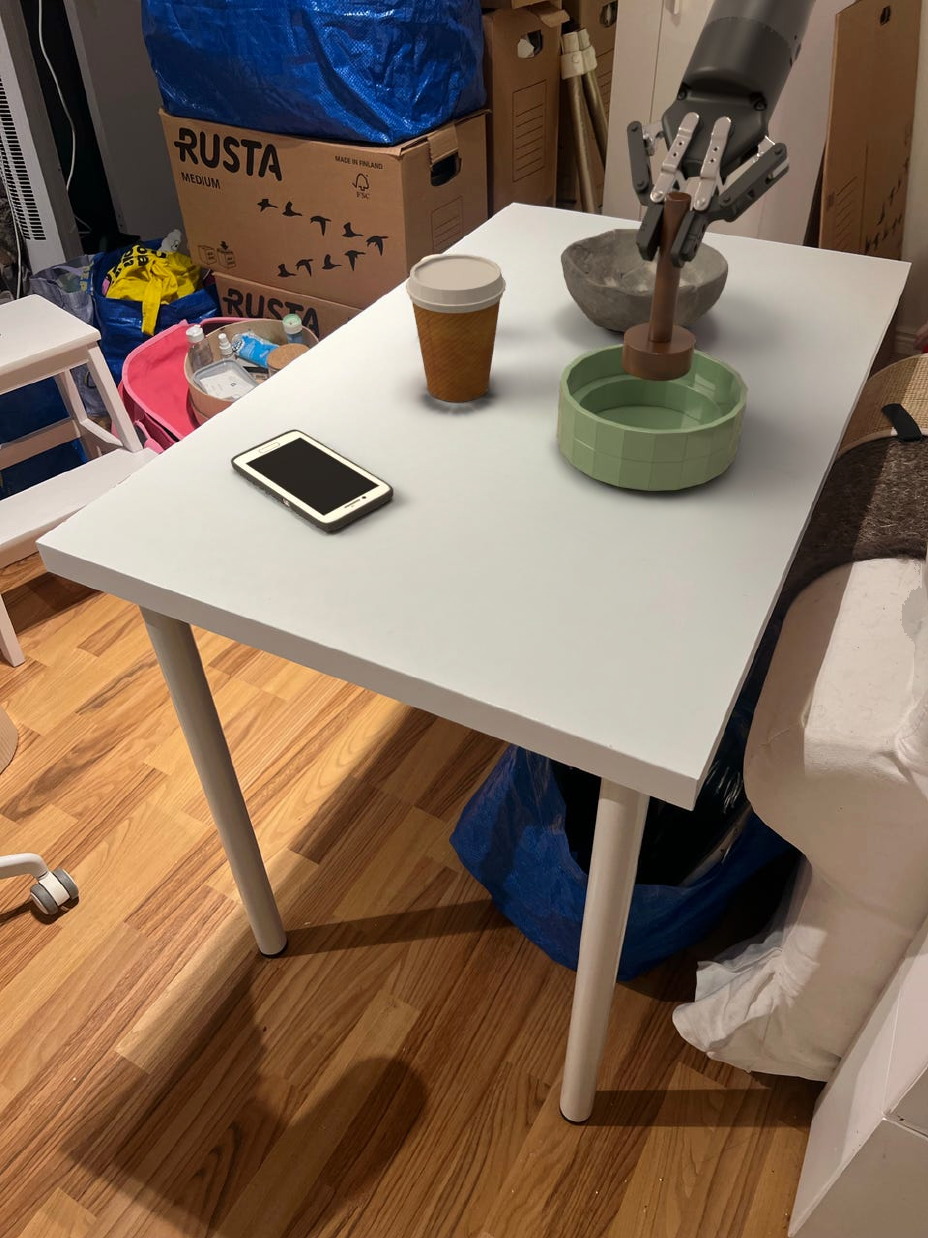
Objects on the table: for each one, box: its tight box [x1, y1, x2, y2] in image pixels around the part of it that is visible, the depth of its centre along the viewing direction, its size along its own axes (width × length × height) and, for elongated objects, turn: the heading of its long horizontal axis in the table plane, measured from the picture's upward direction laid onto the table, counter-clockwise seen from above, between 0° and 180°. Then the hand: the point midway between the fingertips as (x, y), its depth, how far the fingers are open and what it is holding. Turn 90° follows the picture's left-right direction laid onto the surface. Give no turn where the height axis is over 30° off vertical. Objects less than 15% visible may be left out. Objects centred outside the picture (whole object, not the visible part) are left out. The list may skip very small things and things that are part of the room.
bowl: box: [560, 228, 729, 333], centre depth 101 cm, size 18×18×8 cm
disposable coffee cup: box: [405, 253, 507, 403], centre depth 90 cm, size 10×10×12 cm
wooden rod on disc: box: [621, 192, 696, 381], centre depth 75 cm, size 6×6×14 cm
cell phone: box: [230, 428, 394, 532], centre depth 81 cm, size 8×15×1 cm, turn 44°
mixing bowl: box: [556, 343, 749, 492], centre depth 83 cm, size 16×16×6 cm
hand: (660, 258), depth 71 cm, fingers closed on wooden rod on disc
